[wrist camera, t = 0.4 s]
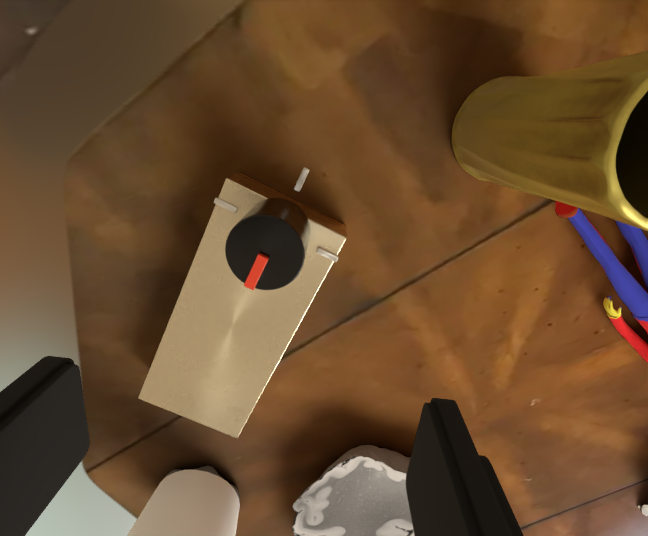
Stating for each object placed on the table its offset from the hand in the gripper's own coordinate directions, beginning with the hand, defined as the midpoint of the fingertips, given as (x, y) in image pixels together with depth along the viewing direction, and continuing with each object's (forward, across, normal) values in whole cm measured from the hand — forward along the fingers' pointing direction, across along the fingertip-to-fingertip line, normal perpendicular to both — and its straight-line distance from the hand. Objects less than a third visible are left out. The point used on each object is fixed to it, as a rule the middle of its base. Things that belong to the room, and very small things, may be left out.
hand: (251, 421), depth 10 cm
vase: (+18, -12, -8) cm, 23 cm away
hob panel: (+17, +4, +4) cm, 18 cm away
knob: (+14, +1, -1) cm, 15 cm away
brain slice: (+18, -10, +26) cm, 33 cm away
